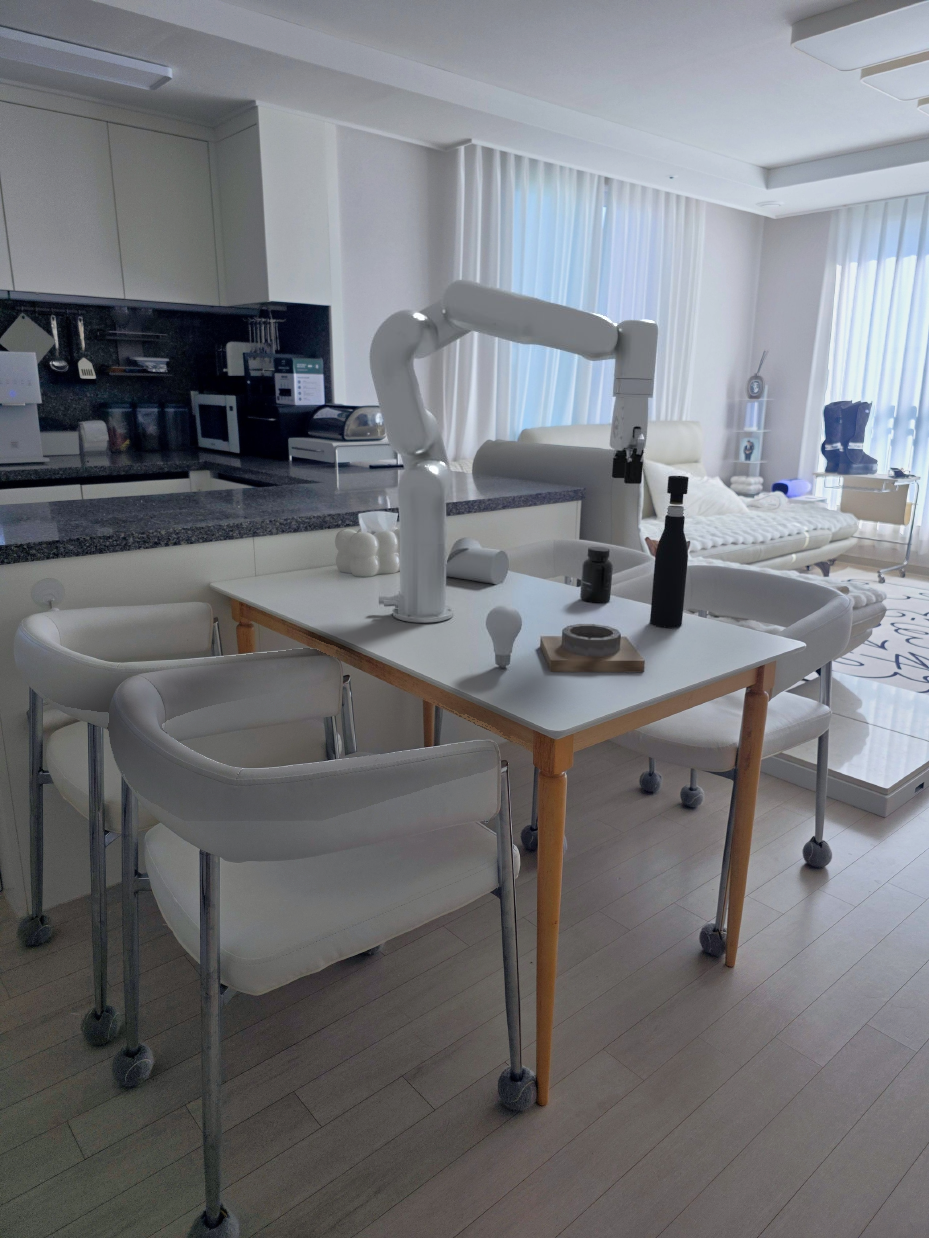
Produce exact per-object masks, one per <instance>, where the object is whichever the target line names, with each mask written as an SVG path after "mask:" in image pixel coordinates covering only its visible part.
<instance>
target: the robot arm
mask: <svg viewBox="0 0 929 1238" xmlns="http://www.w3.org/2000/svg"><path fill="white" fill-rule="evenodd" d="M472 332H476V333H480V334H483V335H487V336H491V337H494V338H498V339H502V340H505V341H509V342H512V343H516V344H520V345H521V344H522V345H534V346H535V345H537V346H542V347H545V348H546V347H547V348H552V349H556V350H560V351H563V352H567V353H571V354H574V355H578V356H581V357H582V358H583V359H585V360H587V361H590V362H597V361H599V362H600V361H607V360H614V373H613V387H612V397H614V398H615V400H614V405H613V409H612V410H613V411H612V417H611V427H610V428H611V429H610V436H609V437H610V438H609V446H610V449H611V448H612V449H613V458H612V470H611V477H612V478H614V479H623V483H624V484H627V485H629V484H631V485H634V484H637V485H638V484H642V480H643V479H642V478H643V468H644V467H643V465H644V453H645V448H646V446H647V445H646V444H647V437H648V423H649V398H650V399H653V398H654V387H655V375H656V365H657V354H658V353H657V352H658V340H659V325H658V324H657V322H655V321H653V320H650V319H627V320H623V321H621V322H615V321H614V322H613V321H612V320H611V319H610V318H608V317H607V316H603V315H601V314H597V313H594V312H590V311H586V310H582V309H578V308H576V307H571V306H567V305H563V304H559V303H556V302H551V301H547V300H543V299H540V298H538V297H534V296H529V295H526V294H521V293H518V292H515V291H511V290H508V289H502V288H499V287H495V286H493V285H490V284H489V285H488V284H484V283H482V282H477V281H473V280H469V279H456V280H454V281H451V282H450V283H449V284H448V285H447V286H446V287H445V289H444V291H443V293H442V296H441V298H440V299H438V300H437V301H434V302H433V303H431V304H429V305H427V306H426V307H424V308H423V309H420V310H419V311H417V310H414V309H401V310H398V311H396V312H394V313H392V314H391V315H389V316H388V317H387V318H385V319H384V321H383V322H382V323H381V324H380V325H379V327H378V328H377V330H376V332H375V333H374V335H373V337H372V340H371V343H370V349H369V368H370V374H371V377H372V381H373V385H374V389H375V393H376V398H377V402H378V406H379V410H380V414H381V417H382V421H383V425H384V430H385V433H386V438H387V442H388V444H389V446H390V447H391V449H392V450H393V451H394V452H395V453H396V454H398V455H400V457H401V461H402V462H401V463H402V465H403V468H404V471H403V472H402V474H401V475H400V478H399V481H398V485H397V504H398V517H399V591H398V594H395V593H394V594H393V595H378V605H380V606H383V607H394V608H393V609H392V616H393V617H394V618H395V619H398V620H401V621H403V622H410V623H421V624H422V623H427V624H428V623H438V622H443V621H447V620H449V619H450V618H453V615H454V609H453V608H452V607H450V606H448V605H447V576H446V564H447V544H448V543H447V497H448V496H449V494H450V492H451V490H452V487H453V475H452V470H451V466H450V462H449V459H448V455H447V451H446V446H445V444H444V443H445V442H444V439H443V435H442V432H441V428H440V426H439V423H438V421H437V419H436V417H435V416H434V414H432V413H431V412H430V411H429V410H427V409H426V407H425V404H424V401H423V397H422V393H421V390H420V389H421V388H420V384H419V381H418V377H417V375H416V372H415V366H414V362H415V361H414V360H415V359H417V360H418V359H425V358H426V357H429V356H431V355H433V354H434V353H436V352H438V351H440V350H441V349H443V348H445V347H447V346H448V345H450V344H452V343H454V342H456V341H457V340H459V339H461V338H463V337H465V336H467V334H469V333H472Z"/></svg>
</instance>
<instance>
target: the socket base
mask: <svg viewBox="0 0 929 1238" xmlns="http://www.w3.org/2000/svg"><path fill="white" fill-rule="evenodd" d="M561 630H562V631H561V633H562V634H561V635H560V636H559V635H555V636H554V635H540V640H539V641H540V642H539V648H540V650H541V652H542V654H543V656H544V657H543V658H544V659H545V662H546V665H547V666H548V669H549V672H563V673H564V672H567V673H568V672H571V673H574V672H575V673H576V672H577V673H578V672H589V673H590V672H591V673H592V672H594V673H595V672H598V673H601V672H602V673H605V672H607V673H610V672H611V673H612V672H614V673H619V672H621V673H629V672H630V673H638V672H639V673H644V672H645V664H646V663H645V662H646V661H645V659H644V657H643V656H642V655H641V654H640V652H639V651H638V650H637V648H636V647H635V646H634V644H632V642H631V641H630V640H629V639H628V637H627V636H622V635H621V632H620V631H619V629H617V628H614V627H611V626H609V625H602V624H598V623H597V624H595V623H577V624H570V625H566V626H565V627H564V628H562V629H561Z"/></svg>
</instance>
